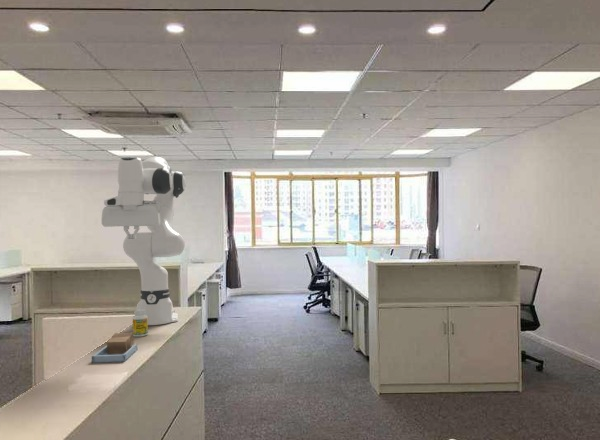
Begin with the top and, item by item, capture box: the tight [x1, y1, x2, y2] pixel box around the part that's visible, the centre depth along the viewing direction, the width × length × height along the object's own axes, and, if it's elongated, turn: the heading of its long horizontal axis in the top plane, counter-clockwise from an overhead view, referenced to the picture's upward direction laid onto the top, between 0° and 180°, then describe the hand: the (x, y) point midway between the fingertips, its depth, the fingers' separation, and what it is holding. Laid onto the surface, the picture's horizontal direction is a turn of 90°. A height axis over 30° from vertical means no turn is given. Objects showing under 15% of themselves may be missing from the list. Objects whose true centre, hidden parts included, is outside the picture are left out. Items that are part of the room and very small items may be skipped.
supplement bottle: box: [132, 309, 149, 338], centre depth 174 cm, size 5×5×10 cm
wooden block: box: [106, 332, 135, 354], centre depth 151 cm, size 4×6×8 cm
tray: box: [91, 343, 139, 364], centre depth 146 cm, size 13×10×2 cm
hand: (131, 238), depth 165 cm, fingers closed
